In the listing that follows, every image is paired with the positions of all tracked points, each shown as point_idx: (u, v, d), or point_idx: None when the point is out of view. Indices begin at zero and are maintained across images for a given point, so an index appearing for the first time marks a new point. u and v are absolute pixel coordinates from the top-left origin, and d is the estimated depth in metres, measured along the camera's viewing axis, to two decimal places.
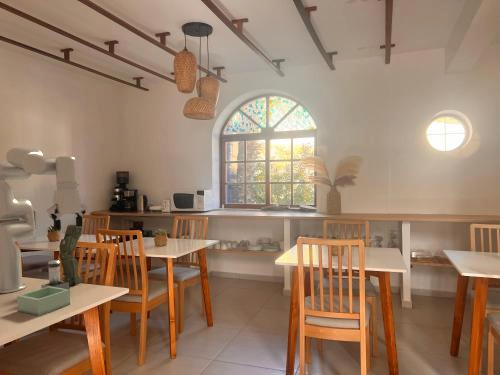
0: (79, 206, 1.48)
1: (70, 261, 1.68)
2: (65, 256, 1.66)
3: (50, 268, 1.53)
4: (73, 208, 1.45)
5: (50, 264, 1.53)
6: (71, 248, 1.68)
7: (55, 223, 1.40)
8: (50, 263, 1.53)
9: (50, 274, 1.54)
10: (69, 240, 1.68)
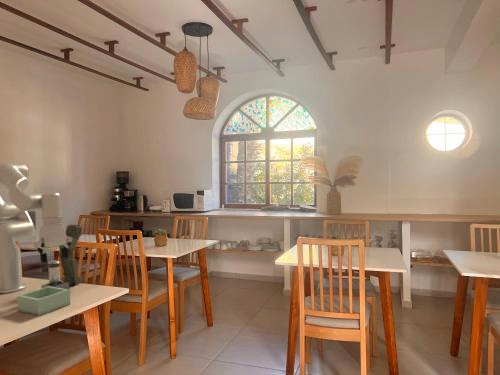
0: (64, 239, 1.57)
1: (70, 261, 1.68)
2: None
3: (50, 268, 1.53)
4: (58, 241, 1.55)
5: (50, 264, 1.53)
6: (71, 248, 1.68)
7: (41, 256, 1.50)
8: (50, 263, 1.53)
9: (50, 274, 1.54)
10: None
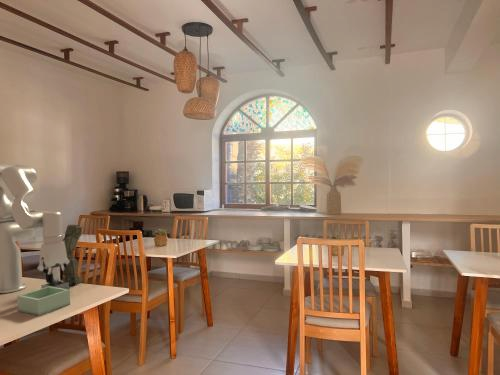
0: (65, 257, 1.58)
1: (70, 261, 1.68)
2: None
3: None
4: (59, 260, 1.55)
5: None
6: (71, 248, 1.68)
7: (47, 277, 1.52)
8: None
9: None
10: (69, 240, 1.68)
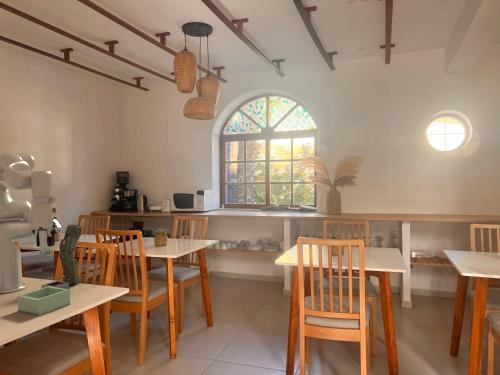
0: (48, 222, 1.41)
1: (70, 261, 1.68)
2: (65, 256, 1.66)
3: None
4: (42, 224, 1.41)
5: None
6: (71, 248, 1.68)
7: None
8: None
9: None
10: (69, 240, 1.68)
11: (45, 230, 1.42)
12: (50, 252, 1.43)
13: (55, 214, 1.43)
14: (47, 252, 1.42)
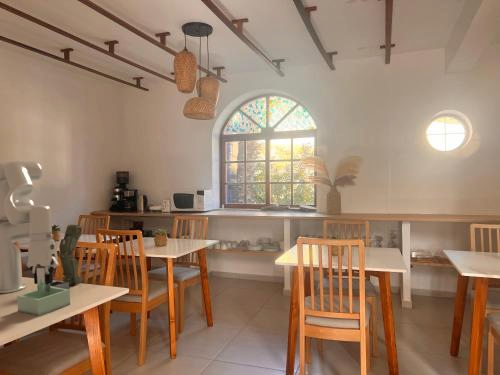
0: (46, 259, 1.37)
1: (70, 261, 1.68)
2: (65, 256, 1.66)
3: None
4: (39, 261, 1.37)
5: None
6: (71, 248, 1.68)
7: None
8: None
9: None
10: (69, 240, 1.68)
11: (43, 267, 1.38)
12: (48, 290, 1.39)
13: (53, 251, 1.39)
14: (45, 290, 1.38)
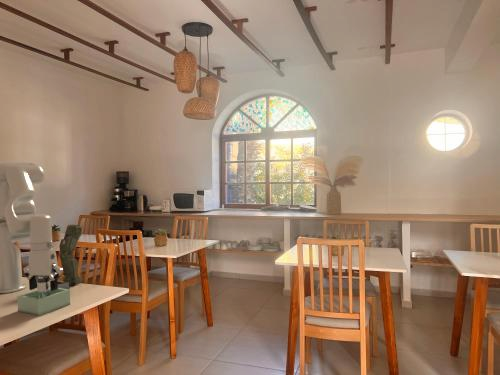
0: (46, 269, 1.37)
1: (70, 261, 1.68)
2: (65, 256, 1.66)
3: None
4: (40, 270, 1.37)
5: None
6: (71, 248, 1.68)
7: None
8: None
9: None
10: (69, 240, 1.68)
11: (44, 282, 1.38)
12: None
13: (53, 260, 1.39)
14: None
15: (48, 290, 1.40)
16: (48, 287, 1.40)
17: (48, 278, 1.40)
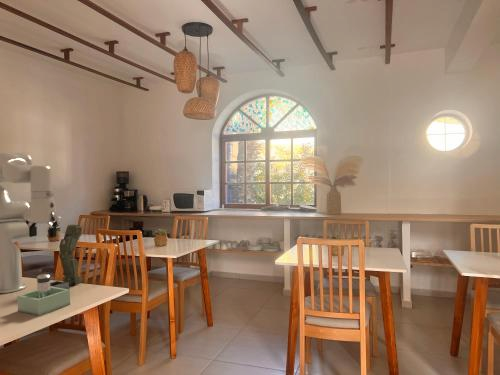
0: (45, 217, 1.43)
1: (70, 261, 1.68)
2: (65, 256, 1.66)
3: None
4: (39, 218, 1.44)
5: None
6: (71, 248, 1.68)
7: None
8: None
9: None
10: (69, 240, 1.68)
11: (44, 282, 1.38)
12: None
13: (52, 209, 1.45)
14: None
15: (48, 290, 1.40)
16: (48, 287, 1.40)
17: (48, 278, 1.40)
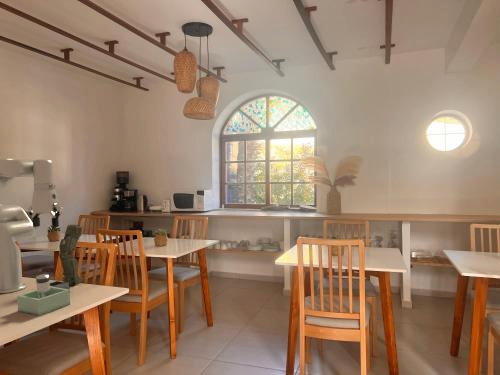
0: (48, 207, 1.52)
1: (70, 261, 1.68)
2: (65, 256, 1.66)
3: None
4: (42, 208, 1.53)
5: None
6: (71, 248, 1.68)
7: None
8: None
9: None
10: (69, 240, 1.68)
11: (43, 282, 1.38)
12: None
13: (55, 200, 1.55)
14: None
15: (48, 290, 1.39)
16: (47, 287, 1.39)
17: (47, 278, 1.39)
